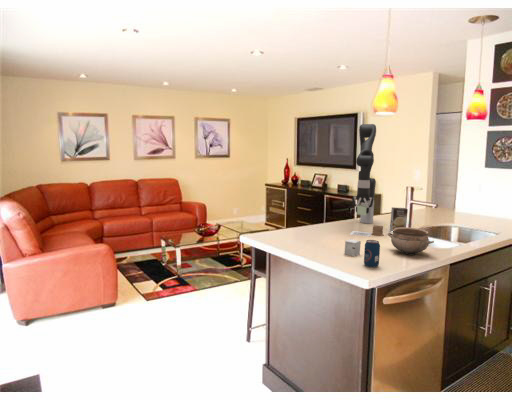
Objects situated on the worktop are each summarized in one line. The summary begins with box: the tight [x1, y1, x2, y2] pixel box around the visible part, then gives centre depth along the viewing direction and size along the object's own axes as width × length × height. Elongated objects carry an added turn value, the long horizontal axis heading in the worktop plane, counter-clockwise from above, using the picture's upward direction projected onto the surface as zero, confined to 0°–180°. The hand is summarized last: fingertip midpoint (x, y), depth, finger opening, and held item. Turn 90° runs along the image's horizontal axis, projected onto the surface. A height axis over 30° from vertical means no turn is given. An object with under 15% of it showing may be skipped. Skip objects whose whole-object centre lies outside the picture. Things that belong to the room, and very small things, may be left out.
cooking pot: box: [387, 226, 435, 255], centre depth 210 cm, size 25×19×12 cm
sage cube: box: [356, 204, 367, 216], centre depth 252 cm, size 6×6×6 cm
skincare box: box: [344, 238, 362, 257], centre depth 206 cm, size 6×6×7 cm
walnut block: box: [371, 224, 384, 237], centre depth 252 cm, size 6×6×6 cm
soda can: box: [363, 239, 381, 269], centre depth 187 cm, size 7×7×12 cm
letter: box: [348, 230, 373, 238], centre depth 255 cm, size 12×13×1 cm
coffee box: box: [389, 206, 409, 232], centre depth 262 cm, size 9×6×16 cm
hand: (362, 212), depth 253 cm, fingers closed on sage cube, 5 cm apart
